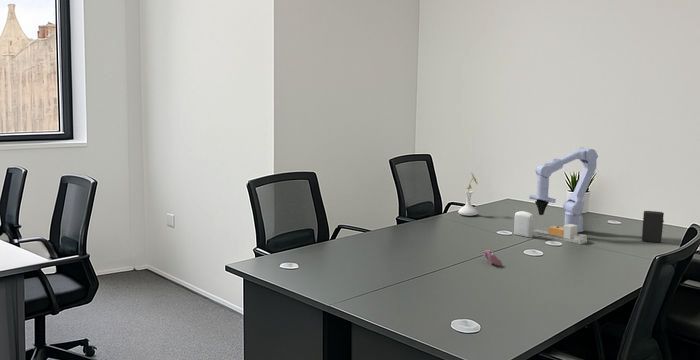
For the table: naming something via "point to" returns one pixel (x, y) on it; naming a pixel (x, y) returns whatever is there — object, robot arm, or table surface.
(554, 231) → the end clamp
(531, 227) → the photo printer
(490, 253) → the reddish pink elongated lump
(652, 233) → the card reader
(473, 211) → the flower in vase
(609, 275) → the table surface
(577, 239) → the mounting rail
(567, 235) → the block
